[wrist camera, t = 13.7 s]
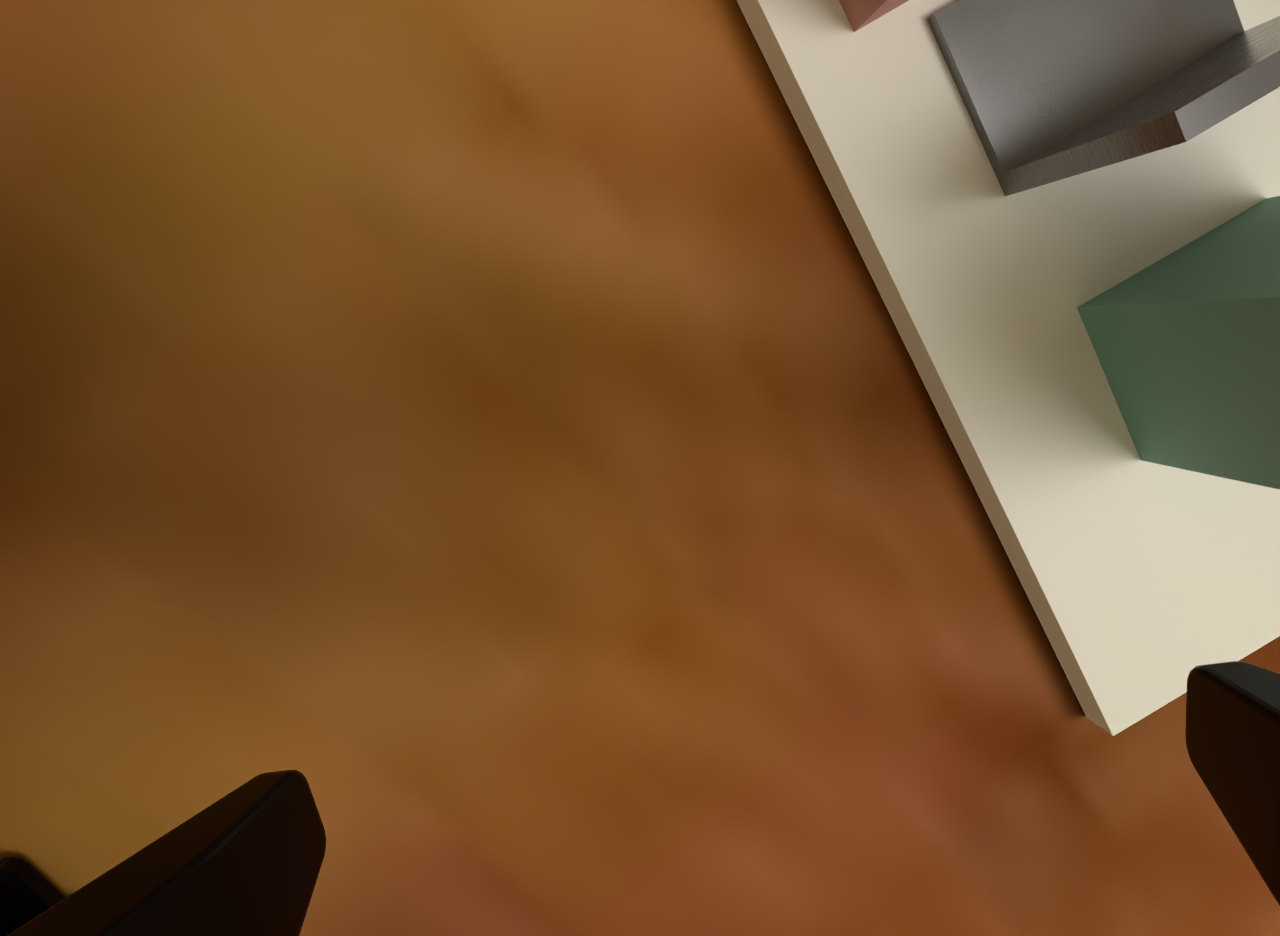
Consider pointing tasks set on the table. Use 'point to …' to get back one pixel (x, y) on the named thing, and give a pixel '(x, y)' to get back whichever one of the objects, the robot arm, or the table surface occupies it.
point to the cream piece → (1055, 283)
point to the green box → (1200, 351)
